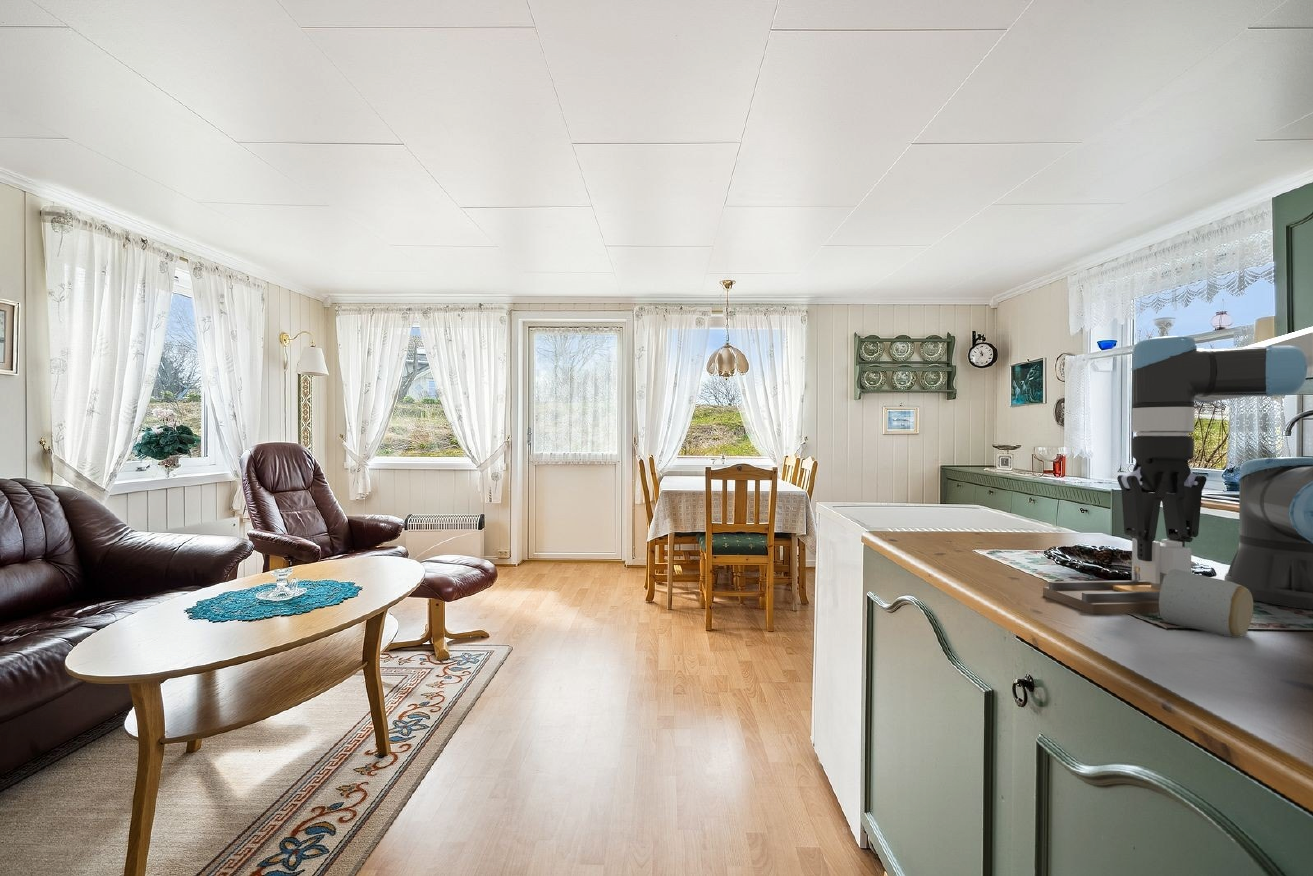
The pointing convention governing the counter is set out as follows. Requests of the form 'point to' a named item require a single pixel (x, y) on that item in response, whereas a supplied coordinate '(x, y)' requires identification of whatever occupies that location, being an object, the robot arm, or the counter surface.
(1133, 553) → the white block on base
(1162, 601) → the ceramic mug
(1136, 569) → the keeper hook
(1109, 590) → the brown piece
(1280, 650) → the counter surface
